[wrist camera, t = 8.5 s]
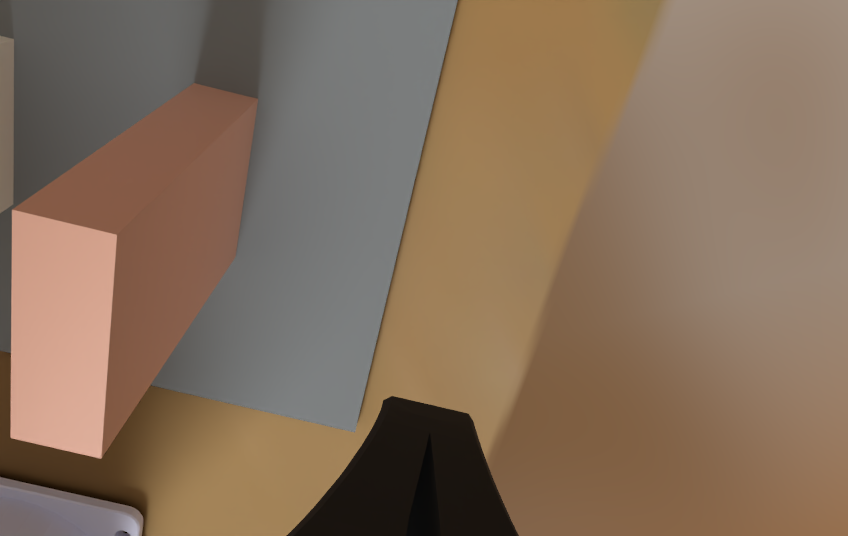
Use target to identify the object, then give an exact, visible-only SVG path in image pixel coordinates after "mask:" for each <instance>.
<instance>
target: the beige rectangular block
mask: <svg viewBox="0 0 848 536" xmlns="http://www.w3.org/2000/svg"><path fill="white" fill-rule="evenodd" d="M13 187H14V39H12V38H7V37H3V36H0V213H1V212H3V211H4V210H6V209H7V208H9V207H10V206H12V205H13Z"/></svg>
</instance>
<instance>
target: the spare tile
mask: <svg viewBox="0 0 848 536" xmlns="http://www.w3.org/2000/svg"><path fill="white" fill-rule="evenodd" d="M257 104H258V99H256V98H252V97H248V96H244V95H240V94H236V93H232V92H228V91H224V90H220V89H216V88H212V87H208V86H204V85H200V84H196V83H193V84H192V85H190V86H189V87H187V88H186V89H185V90H183V91H182V92H180V93H179V94H177V95H176V96H175V97H173V98H172V99H170V100H169V101H167V102H166V103H165V104H163V105H162V106H160V107H159V108H157V109H156V110H154V111H153V112H152V113H150V114H149V115H147V116H146V117H144V118H143V119H142V120H140V121H139V122H137V123H136V124H134V125H133V126H131V127H130V128H129V129H127V130H126V131H124V132H123V133H121V134H120V135H119V136H117V137H116V138H114V139H113V140H111V141H110V142H108V143H107V144H106V145H104V146H103V147H101V148H100V149H98V150H97V151H96V152H94V153H93V154H91V155H90V156H88V157H87V158H85V159H84V160H83V161H81V162H80V163H78V164H77V165H75V166H74V167H73V168H71V169H70V170H68V171H67V172H65V173H64V174H62V175H61V176H60V177H58V178H57V179H55V180H54V181H52V182H51V183H50V184H48V185H47V186H45V187H44V188H42V189H41V190H39V191H38V192H37V193H35V194H34V195H32V196H31V197H29V198H28V199H27V200H25V201H24V202H22V203H21V204H19V205H18V206H16V207H15V208H14V209H12V289H11V438H13V439H17V440H22V441H26V442H30V443H35V444H39V445H43V446H48V447H52V448H56V449H61V450H65V451H69V452H74V453H78V454H83V455H87V456H91V457H96V458H100V459H101V458H102V457H103V455H104V454H105V452H106V451H107V449H108V448H109V446H110V445H111V443H112V442H113V440H114V439H115V437H116V436H117V434H118V433H119V431H120V430H121V428H122V427H123V425H124V424H125V422H126V421H127V419H128V418H129V416H130V415H131V413H132V412H133V410H134V409H135V407H136V406H137V404H138V403H139V401H140V400H141V398H142V397H143V395H144V394H145V392H146V391H147V389H148V388H149V386H150V385H151V383H152V382H153V380H154V379H155V377H156V376H157V374H158V373H159V371H160V370H161V368H162V367H163V365H164V364H165V362H166V361H167V359H168V358H169V356H170V355H171V353H172V352H173V350H174V349H175V347H176V346H177V344H178V343H179V341H180V340H181V338H182V337H183V335H184V334H185V332H186V331H187V329H188V328H189V326H190V325H191V323H192V322H193V320H194V319H195V317H196V316H197V314H198V313H199V311H200V310H201V308H202V307H203V305H204V304H205V302H206V301H207V299H208V298H209V296H210V295H211V293H212V292H213V290H214V289H215V287H216V286H217V284H218V283H219V281H220V280H221V278H222V277H223V275H224V274H225V272H226V271H227V269H228V268H229V266H230V265H231V263H232V262H233V260H234V259H235V257H236V250H237V243H238V236H239V229H240V222H241V215H242V208H243V201H244V194H245V187H246V180H247V174H248V167H249V160H250V153H251V146H252V139H253V132H254V125H255V118H256V111H257Z"/></svg>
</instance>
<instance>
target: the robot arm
mask: <svg viewBox="0 0 848 536" xmlns="http://www.w3.org/2000/svg"><path fill="white" fill-rule="evenodd" d="M142 529H143V516H142V515H141V513H140V512H139V511H138V510H137V509H135V508H133V507H131V506H127V505H122V504H118V503H113V502H109V501H104V500H100V499H96V498H91V497H87V496H82V495H78V494H73V493H69V492H64V491H60V490H55V489H51V488H47V487H42V486H38V485H33V484H29V483H24V482H20V481H15V480H11V479H6V478H2V477H0V536H142ZM123 531H126V532H128V533H129V534H127V533H124V532H123ZM287 536H519V535H518V533H517V532H516V530H515V527H514V525H513V523H512V521H511V519H510V517H509V514H508V512H507V510H506V508H505V506H504V503H503V501H502V499H501V496H500V495H499V492H498V490H497V487H496V485H495V483H494V480H493V478H492V475H491V472H490V470H489V467H488V465H487V462H486V459H485V457H484V454H483V451H482V448H481V445H480V442H479V439H478V436H477V433H476V429H475V426H474V422H473V420H472V419H471V417H470V415H469V414H467V413H463V412H459V411H454V410H450V409H446V408H441V407H437V406H433V405H428V404H424V403H420V402H415V401H411V400H407V399H403V398H398V397H394V396H391V397H389V398H387V399H385V400H383V404H382V408H381V411H380V413H379V415H378V418H377V420H376V422H375V424H374V426H373V428H372V429H371V431H370V433H369V435H368V436H367V438H366V439H365V441H364V443H363V444H362V446H361V447H360V449H359V450H358V452H357V453H356V455H355V456H354V457H353V459H352V460H351V462H350V463H349V464H348V466H347V467H346V469H345V470H344V472H343V473H342V474H341V475H340V477H339V478H338V479H337V480H336V482H335V483H334V484H333V485H332V486H331V488H330V489H329V490H328V491H327V492H326V494H325V495H324V496H323V497H322V498H321V500H320V501H319V502H318V503H317V504H316V506H315V507H314V508H313V509H312V510H311V511H310V512H309V513H308V514H307V515H306V517H305V518H304V519H303V520H302V521H301V522H300V523H299V524H298V525H297V526H296V527H295V528H294V529H293V530H292V531H291V532H290V533H289V534H288V535H287Z"/></svg>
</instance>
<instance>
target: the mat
mask: <svg viewBox="0 0 848 536" xmlns="http://www.w3.org/2000/svg"><path fill="white" fill-rule="evenodd" d="M457 1H458V0H0V36H3V37H7V38H12V39H14V187H13V205H12V206H10V207H9V208H7V209H6V210H4V211H3V212H1V213H0V351H3V352H8V353H11V289H12V209H14V208H15V207H16V206H18V205H19V204H21V203H22V202H24V201H25V200H27V199H28V198H29V197H31V196H32V195H34V194H35V193H37V192H38V191H39V190H41V189H42V188H44V187H45V186H47V185H48V184H50V183H51V182H52V181H54V180H55V179H57V178H58V177H60V176H61V175H62V174H64V173H65V172H67V171H68V170H70V169H71V168H73V167H74V166H75V165H77V164H78V163H80V162H81V161H83V160H84V159H85V158H87V157H88V156H90V155H91V154H93V153H94V152H96V151H97V150H98V149H100V148H101V147H103V146H104V145H106V144H107V143H108V142H110V141H111V140H113V139H114V138H116V137H117V136H119V135H120V134H121V133H123V132H124V131H126V130H127V129H129V128H130V127H131V126H133V125H134V124H136V123H137V122H139V121H140V120H142V119H143V118H144V117H146V116H147V115H149V114H150V113H152V112H153V111H154V110H156V109H157V108H159V107H160V106H162V105H163V104H165V103H166V102H167V101H169V100H170V99H172V98H173V97H175V96H176V95H177V94H179V93H180V92H182V91H183V90H185V89H186V88H187V87H189V86H190V85H192V84H193V83H196V84H200V85H204V86H208V87H212V88H216V89H220V90H224V91H228V92H232V93H236V94H240V95H244V96H248V97H252V98H256V99H258V104H257V111H256V118H255V125H254V132H253V139H252V146H251V153H250V160H249V167H248V174H247V180H246V187H245V194H244V201H243V208H242V215H241V222H240V229H239V236H238V243H237V250H236V257H235V259H234V260H233V262H232V263H231V265H230V266H229V268H228V269H227V271H226V272H225V274H224V275H223V277H222V278H221V280H220V281H219V283H218V284H217V286H216V287H215V289H214V290H213V292H212V293H211V295H210V296H209V298H208V299H207V301H206V302H205V304H204V305H203V307H202V308H201V310H200V311H199V313H198V314H197V316H196V317H195V319H194V320H193V322H192V323H191V325H190V326H189V328H188V329H187V331H186V332H185V334H184V335H183V337H182V338H181V340H180V341H179V343H178V344H177V346H176V347H175V349H174V350H173V352H172V353H171V355H170V356H169V358H168V359H167V361H166V362H165V364H164V365H163V367H162V368H161V370H160V371H159V373H158V374H157V376H156V377H155V379H154V380H153V382H152V383H151V386H156V387H160V388H164V389H169V390H173V391H177V392H182V393H186V394H190V395H195V396H199V397H203V398H208V399H212V400H216V401H221V402H225V403H229V404H234V405H238V406H243V407H247V408H251V409H256V410H260V411H264V412H269V413H273V414H277V415H282V416H286V417H290V418H295V419H299V420H303V421H308V422H312V423H316V424H321V425H325V426H329V427H334V428H338V429H343V430H347V431H351V432H355V430H356V426H357V421H358V417H359V413H360V409H361V404H362V400H363V396H364V392H365V388H366V383H367V379H368V375H369V371H370V367H371V362H372V358H373V354H374V350H375V346H376V341H377V337H378V333H379V329H380V325H381V320H382V316H383V312H384V308H385V304H386V299H387V295H388V291H389V287H390V283H391V278H392V274H393V270H394V266H395V262H396V257H397V253H398V249H399V245H400V241H401V236H402V232H403V228H404V224H405V220H406V215H407V211H408V207H409V203H410V199H411V194H412V190H413V186H414V182H415V178H416V173H417V169H418V165H419V161H420V157H421V152H422V148H423V144H424V140H425V136H426V131H427V127H428V123H429V119H430V115H431V110H432V106H433V102H434V98H435V94H436V89H437V85H438V81H439V77H440V73H441V68H442V64H443V60H444V56H445V52H446V47H447V43H448V39H449V35H450V31H451V26H452V22H453V18H454V14H455V10H456V5H457Z"/></svg>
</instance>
